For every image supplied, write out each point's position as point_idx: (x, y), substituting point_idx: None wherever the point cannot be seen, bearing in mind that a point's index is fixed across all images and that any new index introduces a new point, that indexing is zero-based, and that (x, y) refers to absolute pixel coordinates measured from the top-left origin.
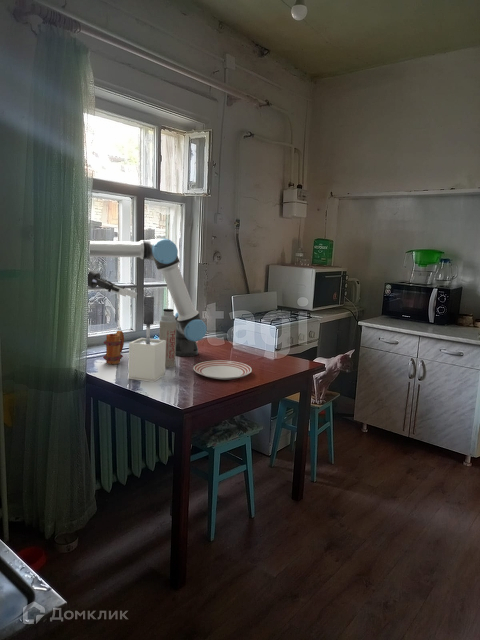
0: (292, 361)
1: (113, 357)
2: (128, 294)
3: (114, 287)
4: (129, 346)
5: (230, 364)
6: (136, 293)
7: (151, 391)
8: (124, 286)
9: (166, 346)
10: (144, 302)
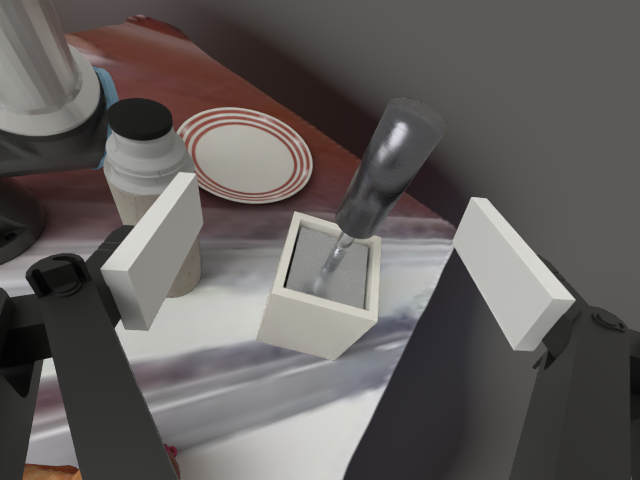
0: (129, 41)
1: (178, 471)
2: (176, 259)
3: (573, 291)
4: (371, 325)
5: (193, 133)
6: (196, 181)
7: (406, 287)
8: (68, 264)
9: (197, 236)
10: (423, 162)
